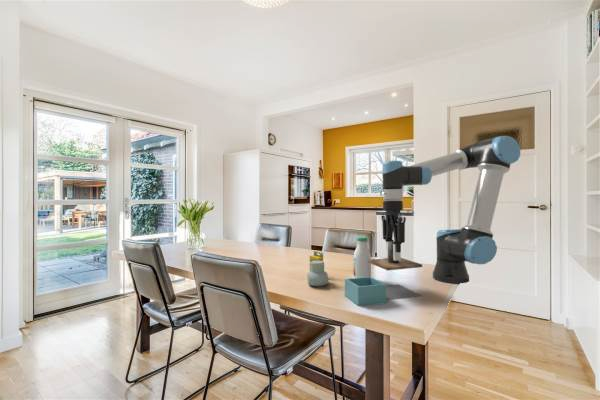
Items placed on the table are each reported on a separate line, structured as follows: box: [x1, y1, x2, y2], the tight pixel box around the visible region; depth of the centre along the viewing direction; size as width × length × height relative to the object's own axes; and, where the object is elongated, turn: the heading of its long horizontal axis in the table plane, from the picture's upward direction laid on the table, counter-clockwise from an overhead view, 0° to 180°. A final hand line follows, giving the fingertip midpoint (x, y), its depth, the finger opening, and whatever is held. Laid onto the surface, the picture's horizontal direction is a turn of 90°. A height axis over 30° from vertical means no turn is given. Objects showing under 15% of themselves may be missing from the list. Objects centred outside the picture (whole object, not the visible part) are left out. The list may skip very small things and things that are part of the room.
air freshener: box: [306, 260, 329, 287], centre depth 131 cm, size 11×8×10 cm
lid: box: [367, 241, 423, 271], centre depth 119 cm, size 15×15×9 cm
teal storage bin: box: [344, 276, 387, 307], centre depth 110 cm, size 11×11×7 cm
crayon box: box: [309, 250, 324, 272], centre depth 144 cm, size 7×3×12 cm, turn 35°
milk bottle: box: [353, 236, 372, 278], centre depth 136 cm, size 8×8×20 cm
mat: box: [386, 284, 423, 301], centre depth 119 cm, size 16×16×1 cm
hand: (393, 258), depth 119 cm, fingers closed on lid, 4 cm apart
